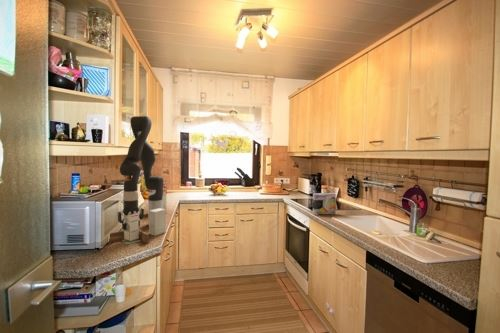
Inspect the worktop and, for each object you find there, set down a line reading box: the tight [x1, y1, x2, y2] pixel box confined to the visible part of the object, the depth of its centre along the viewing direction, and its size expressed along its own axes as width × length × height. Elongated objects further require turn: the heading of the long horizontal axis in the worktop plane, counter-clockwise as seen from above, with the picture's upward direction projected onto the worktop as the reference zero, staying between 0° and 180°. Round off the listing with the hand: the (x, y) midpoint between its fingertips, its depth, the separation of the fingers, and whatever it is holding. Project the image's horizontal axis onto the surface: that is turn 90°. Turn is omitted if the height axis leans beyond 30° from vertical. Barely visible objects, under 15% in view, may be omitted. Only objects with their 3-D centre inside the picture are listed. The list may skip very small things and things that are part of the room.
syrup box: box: [123, 212, 140, 241], centre depth 147 cm, size 6×6×14 cm
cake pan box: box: [312, 192, 337, 216], centre depth 218 cm, size 19×5×18 cm, turn 94°
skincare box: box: [148, 208, 167, 237], centre depth 161 cm, size 8×6×15 cm
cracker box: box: [147, 187, 167, 211], centre depth 211 cm, size 14×6×21 cm, turn 66°
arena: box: [107, 228, 150, 245], centre depth 144 cm, size 16×16×5 cm
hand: (131, 228), depth 147 cm, fingers closed on syrup box, 6 cm apart
